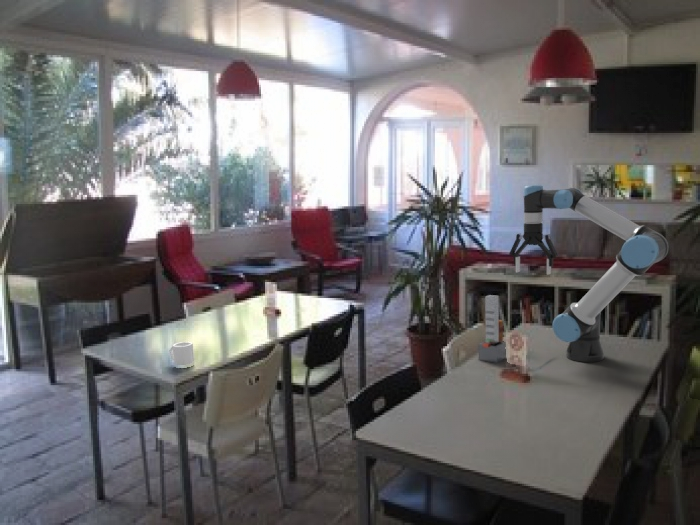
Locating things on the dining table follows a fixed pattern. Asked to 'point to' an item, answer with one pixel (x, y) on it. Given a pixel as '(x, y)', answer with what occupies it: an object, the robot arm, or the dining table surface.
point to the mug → (501, 330)
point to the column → (492, 319)
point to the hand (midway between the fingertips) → (533, 273)
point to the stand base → (492, 351)
